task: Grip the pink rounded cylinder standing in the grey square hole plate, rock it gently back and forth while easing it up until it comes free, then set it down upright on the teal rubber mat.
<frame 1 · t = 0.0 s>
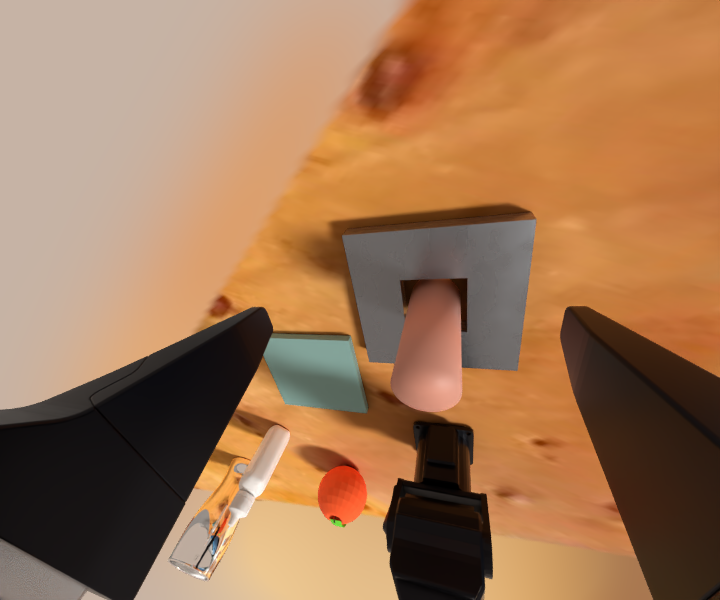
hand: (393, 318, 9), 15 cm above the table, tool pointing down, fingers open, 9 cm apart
rubber mat: (315, 371, 35), on the table
clementine: (350, 469, 45), on the table
eye dropper bottle: (279, 433, 45), on the table
pink rounded cylinder: (431, 333, 21), in the grey square hole plate
beer glass: (248, 465, 54), on the table
grey square hole plate: (435, 296, 25), on the table
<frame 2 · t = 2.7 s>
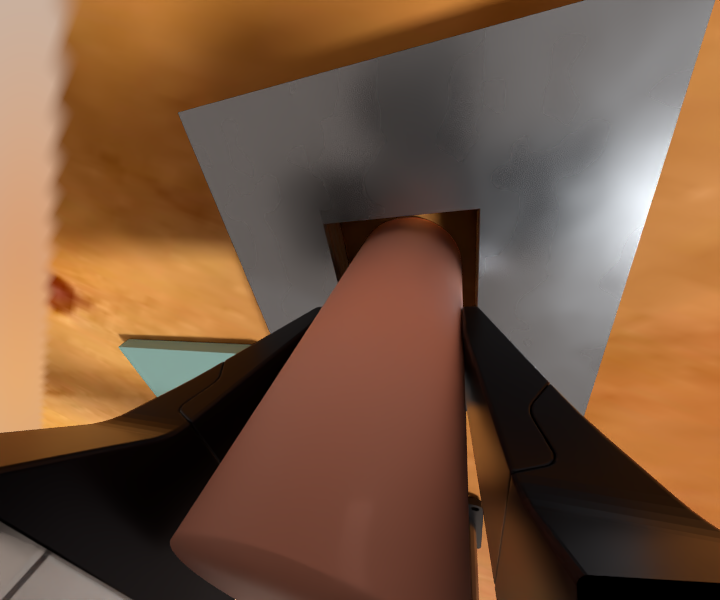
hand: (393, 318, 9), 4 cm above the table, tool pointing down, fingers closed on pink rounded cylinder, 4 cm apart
rubber mat: (226, 401, 21), on the table
pink rounded cylinder: (384, 351, 8), in the grey square hole plate, touching gripper
grey square hole plate: (408, 266, 12), on the table
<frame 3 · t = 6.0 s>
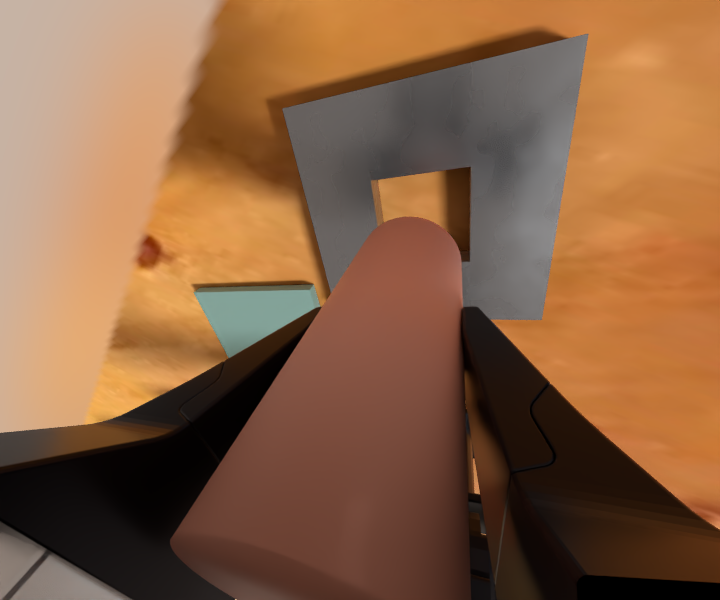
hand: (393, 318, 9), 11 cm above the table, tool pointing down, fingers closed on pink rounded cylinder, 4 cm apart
rubber mat: (274, 338, 27), on the table
pink rounded cylinder: (384, 350, 8), point 12 cm above the table, touching gripper
grey square hole plate: (424, 213, 17), on the table
when the fingers open (6 cm above the table, at t = 9.6 s): pink rounded cylinder drops 1 cm, resting on rubber mat.
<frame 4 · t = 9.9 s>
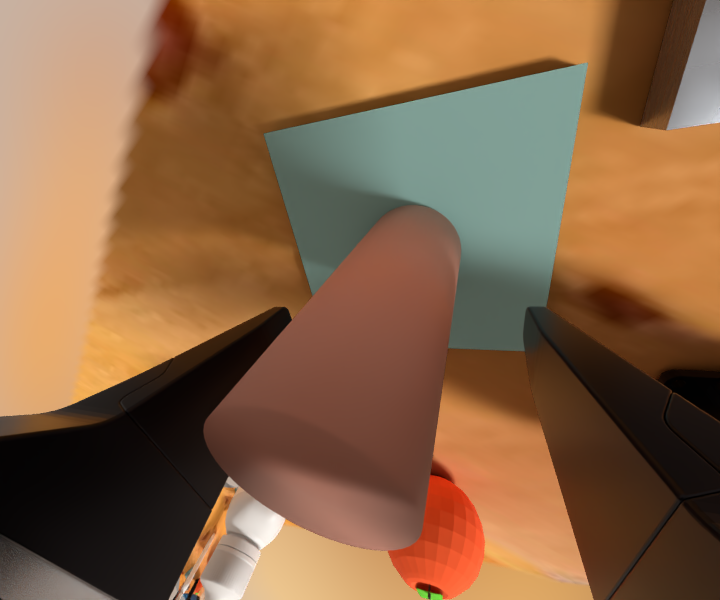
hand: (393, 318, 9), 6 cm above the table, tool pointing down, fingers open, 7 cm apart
rubber mat: (414, 244, 14), on the table
clementine: (436, 482, 25), on the table
eye dropper bottle: (305, 413, 24), on the table
pink rounded cylinder: (382, 317, 9), on the rubber mat, point 6 cm above the table
beer glass: (247, 471, 34), on the table
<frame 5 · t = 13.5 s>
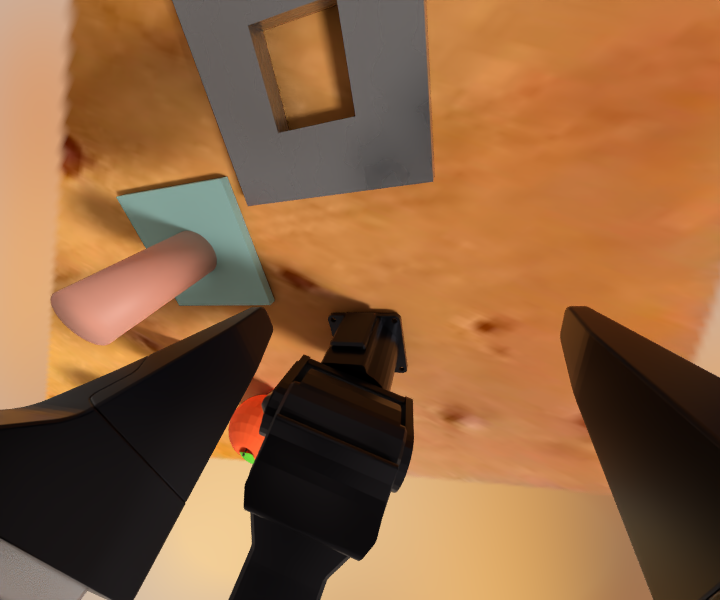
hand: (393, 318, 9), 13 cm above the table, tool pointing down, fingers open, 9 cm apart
rubber mat: (202, 249, 27), on the table
clementine: (278, 403, 38), on the table
pink rounded cylinder: (149, 280, 22), on the rubber mat, point 6 cm above the table
grey square hole plate: (313, 74, 17), on the table
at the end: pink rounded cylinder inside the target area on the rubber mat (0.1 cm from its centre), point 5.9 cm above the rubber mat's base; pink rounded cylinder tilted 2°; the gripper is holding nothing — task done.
